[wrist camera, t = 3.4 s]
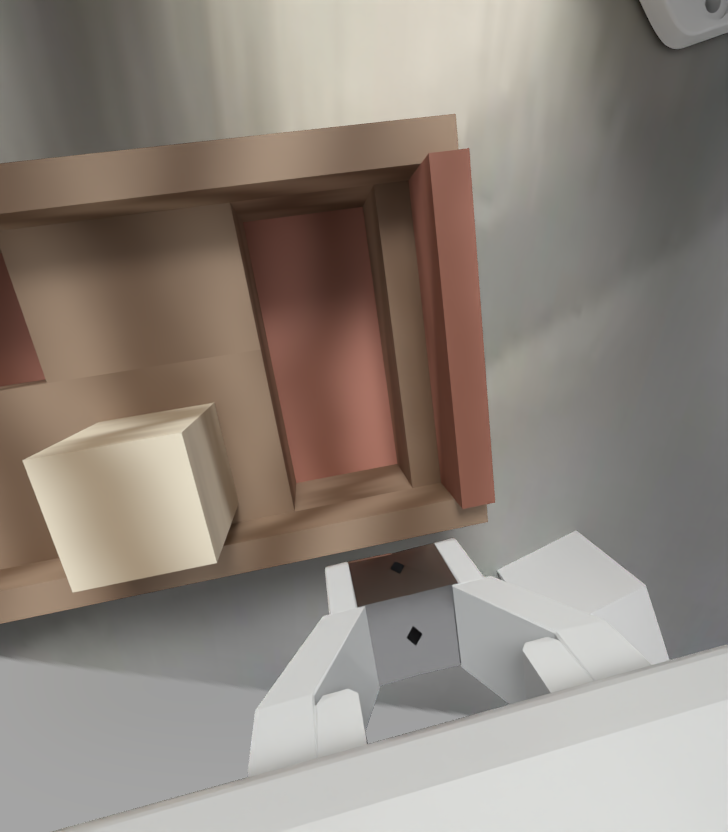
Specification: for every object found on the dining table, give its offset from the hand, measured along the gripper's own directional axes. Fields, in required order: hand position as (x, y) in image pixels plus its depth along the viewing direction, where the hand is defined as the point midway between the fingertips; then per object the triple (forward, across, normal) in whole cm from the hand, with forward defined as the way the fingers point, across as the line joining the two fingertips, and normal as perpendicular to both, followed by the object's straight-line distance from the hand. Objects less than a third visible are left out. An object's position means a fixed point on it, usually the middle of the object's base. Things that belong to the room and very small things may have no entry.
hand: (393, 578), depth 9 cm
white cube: (+15, -13, +14) cm, 24 cm away
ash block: (+11, +8, -1) cm, 14 cm away
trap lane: (+15, +10, -4) cm, 18 cm away
